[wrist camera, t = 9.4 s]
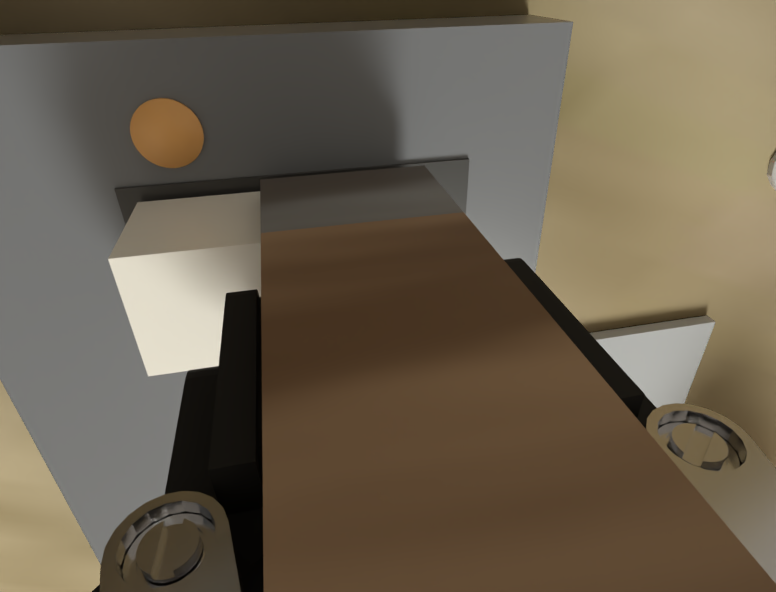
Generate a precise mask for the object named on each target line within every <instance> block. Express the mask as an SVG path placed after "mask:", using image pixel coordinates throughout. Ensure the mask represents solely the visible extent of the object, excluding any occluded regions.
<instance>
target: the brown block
mask: <svg viewBox="0 0 776 592" xmlns="http://www.w3.org/2000/svg"><path fill="white" fill-rule="evenodd" d="M260 219H261V338H262V457H263V576H264V592H776V583H775V582H774V581H773V580H772V579H771V577H770V576H769V575H768V574H767V573H766V571H765V570H764V569H763V568H762V567H761V566H760V564H759V563H758V562H757V561H756V560H755V558H754V557H753V556H752V555H751V554H750V552H749V551H748V550H747V549H746V548H745V546H744V545H743V544H742V543H741V542H740V541H739V539H738V538H737V537H736V536H735V535H734V533H733V532H732V531H731V530H730V529H729V527H728V526H727V525H726V524H725V523H724V521H723V520H722V519H721V518H720V517H719V516H718V514H717V513H716V512H715V511H714V510H713V508H712V507H711V506H710V505H709V504H708V502H707V501H706V500H705V499H704V498H703V496H702V495H701V494H700V493H699V492H698V491H697V489H696V488H695V487H694V486H693V485H692V483H691V482H690V481H689V480H688V479H687V477H686V476H685V475H684V474H683V473H682V471H681V470H680V469H679V468H678V467H677V466H676V464H675V463H674V462H673V461H672V460H671V458H670V457H669V456H668V455H667V454H666V452H665V451H664V450H663V449H662V448H661V446H660V445H659V444H658V443H657V442H656V441H655V439H654V438H653V437H652V436H651V435H650V433H649V432H648V431H647V430H646V429H645V427H644V426H643V425H642V424H641V423H640V421H639V420H638V419H637V418H636V417H635V416H634V414H633V413H632V412H631V411H630V410H629V408H628V407H627V406H626V405H625V404H624V402H623V401H622V400H621V399H620V398H619V397H618V395H617V394H616V393H615V392H614V391H613V389H612V388H611V387H610V386H609V385H608V383H607V382H606V381H605V380H604V379H603V377H602V376H601V375H600V374H599V373H598V372H597V370H596V369H595V368H594V367H593V366H592V364H591V363H590V362H589V361H588V360H587V358H586V357H585V356H584V355H583V354H582V352H581V351H580V350H579V349H578V348H577V347H576V345H575V344H574V343H573V342H572V341H571V339H570V338H569V337H568V336H567V335H566V333H565V332H564V331H563V330H562V329H561V327H560V326H559V325H558V324H557V323H556V322H555V320H554V319H553V318H552V317H551V316H550V314H549V313H548V312H547V311H546V310H545V308H544V307H543V306H542V305H541V304H540V302H539V301H538V300H537V299H536V298H535V297H534V295H533V294H532V293H531V292H530V291H529V289H528V288H527V287H526V286H525V285H524V283H523V282H522V281H521V280H520V279H519V277H518V276H517V275H516V274H515V273H514V272H513V270H512V269H511V268H510V267H509V266H508V264H507V263H506V262H505V261H504V260H503V258H502V257H501V256H500V255H499V254H498V252H497V251H496V250H495V249H494V248H493V247H492V245H491V244H490V243H489V242H488V241H487V239H486V238H485V237H484V236H483V235H482V233H481V232H480V231H479V230H478V229H477V228H476V226H475V225H474V224H473V223H472V222H471V220H470V219H469V218H468V217H467V216H466V214H465V213H464V212H463V211H462V210H461V208H460V207H459V206H458V205H457V204H456V203H455V201H454V200H453V199H452V198H451V197H450V195H449V194H448V193H447V192H446V191H445V189H444V188H443V187H442V186H441V185H440V183H439V182H438V181H437V180H436V179H435V178H434V176H433V175H432V174H431V173H430V172H429V170H428V169H427V168H426V167H425V166H424V165H423V166H411V167H400V168H388V169H377V170H365V171H353V172H342V173H330V174H319V175H307V176H296V177H284V178H273V179H261V180H260Z"/></svg>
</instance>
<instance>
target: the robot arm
mask: <svg viewBox="0 0 776 592" xmlns="http://www.w3.org/2000/svg"><path fill="white" fill-rule="evenodd" d="M504 261H505V262H506V263H507V264H508V266H509V267H510V268H511V269H512V270H513V272H514V273H515V274H516V275H517V276H518V277H519V279H520V280H521V281H522V282H523V283H524V285H525V286H526V287H527V288H528V289H529V291H530V292H531V293H532V294H533V295H534V297H535V298H536V299H537V300H538V301H539V302H540V304H541V305H542V306H543V307H544V308H545V310H546V311H547V312H548V313H549V314H550V316H551V317H552V318H553V319H554V320H555V322H556V323H557V324H558V325H559V326H560V327H561V329H562V330H563V331H564V332H565V333H566V335H567V336H568V337H569V338H570V339H571V341H572V342H573V343H574V344H575V345H576V347H577V348H578V349H579V350H580V351H581V352H582V354H583V355H584V356H585V357H586V358H587V360H588V361H589V362H590V363H591V364H592V366H593V367H594V368H595V369H596V370H597V372H598V373H599V374H600V375H601V376H602V377H603V379H604V380H605V381H606V382H607V383H608V385H609V386H610V387H611V388H612V389H613V391H614V392H615V393H616V394H617V395H618V397H619V398H620V399H621V400H622V401H623V402H624V404H625V405H626V406H627V407H628V408H629V410H630V411H631V412H632V413H633V414H634V416H635V417H636V418H637V419H638V420H639V421H640V423H641V424H642V425H643V426H644V427H645V429H646V430H647V431H648V432H649V433H650V435H651V436H652V437H653V438H654V439H655V441H656V442H657V443H658V444H659V445H660V446H661V448H662V449H663V450H664V451H665V452H666V454H667V455H668V456H669V457H670V458H671V460H672V461H673V462H674V463H675V464H676V466H677V467H678V468H679V469H680V470H681V471H682V473H683V474H684V475H685V476H686V477H687V479H688V480H689V481H690V482H691V483H692V485H693V486H694V487H695V488H696V489H697V491H698V492H699V493H700V494H701V495H702V496H703V498H704V499H705V500H706V501H707V502H708V504H709V505H710V506H711V507H712V508H713V510H714V511H715V512H716V513H717V514H718V516H719V517H720V518H721V519H722V520H723V521H724V523H725V524H726V525H727V526H728V527H729V529H730V530H731V531H732V532H733V533H734V535H735V536H736V537H737V538H738V539H739V541H740V542H741V543H742V544H743V545H744V546H745V548H746V549H747V550H748V551H749V552H750V554H751V555H752V556H753V557H754V558H755V560H756V561H757V562H758V563H759V564H760V566H761V567H762V568H763V569H764V570H765V571H766V573H767V574H768V575H769V576H770V577H771V579H772V580H773V581H774V582H775V583H776V468H775V467H774V466H773V464H772V463H771V462H770V461H769V459H768V458H767V457H766V456H765V454H764V453H763V452H762V451H761V449H760V448H759V447H758V446H757V444H756V443H755V442H754V441H753V439H752V438H751V437H750V436H749V435H748V434H747V433H746V432H745V431H744V430H743V429H742V428H741V427H740V426H739V425H737V424H736V423H734V422H733V421H731V420H730V419H728V418H727V417H725V416H723V415H721V414H719V413H717V412H714V411H712V410H710V409H707V408H703V407H700V406H696V405H692V404H680V403H674V404H667V405H662V406H660V407H658V408H656V407H655V405H654V404H653V403H652V402H651V401H650V400H649V399H648V398H647V397H646V396H645V394H644V393H643V391H642V390H641V389H640V388H639V387H638V386H637V385H636V384H635V383H634V382H633V380H632V379H631V378H630V377H629V376H628V375H627V374H626V373H625V372H624V371H623V369H622V368H621V367H620V366H619V365H618V364H617V363H616V362H615V361H614V360H613V358H612V357H611V356H610V355H609V354H608V353H607V352H606V351H605V350H604V348H603V347H602V346H601V345H600V344H599V343H598V342H597V341H596V340H595V339H594V337H593V336H592V335H591V334H590V333H589V332H588V331H587V330H586V329H585V328H584V326H583V325H582V324H581V323H580V322H579V321H578V320H577V319H576V318H575V317H574V315H573V314H572V313H571V312H570V311H569V310H568V309H567V308H566V307H565V305H564V304H563V303H562V302H561V301H560V300H559V299H558V298H557V297H556V296H555V294H554V293H553V292H552V291H551V290H550V289H549V288H548V287H547V286H546V285H545V283H544V282H543V281H542V280H541V279H540V278H539V277H538V276H537V275H536V274H535V272H534V271H533V270H532V269H531V268H530V267H529V266H528V265H527V264H526V262H525V261H524V260H522V259H521V258H513V259H505V260H504ZM92 592H264V576H263V457H262V338H261V297H259V293H258V290H257V289H255V290H246V291H238V292H230V293H226V296H225V306H224V316H223V326H222V336H221V346H220V356H219V366H215V367H208V368H201V369H194V370H189V371H188V372H187V374H186V378H185V383H184V388H183V394H182V400H181V405H180V411H179V416H178V422H177V428H176V433H175V439H174V445H173V450H172V456H171V461H170V467H169V473H168V478H167V484H166V489H165V494H164V495H162V496H160V497H157V498H155V499H153V500H150V501H148V502H146V503H144V504H143V505H142V506H140V507H139V508H137V509H136V510H135V511H133V512H132V513H130V514H129V515H128V516H127V517H126V518H125V519H124V520H123V521H122V522H121V524H120V525H119V526H118V527H117V528H116V529H115V530H114V532H113V534H112V535H111V537H110V539H109V541H108V542H107V544H106V546H105V549H104V553H103V558H102V562H101V571H100V585H99V586H98V587H96V588H95V589H94V590H93V591H92Z"/></svg>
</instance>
